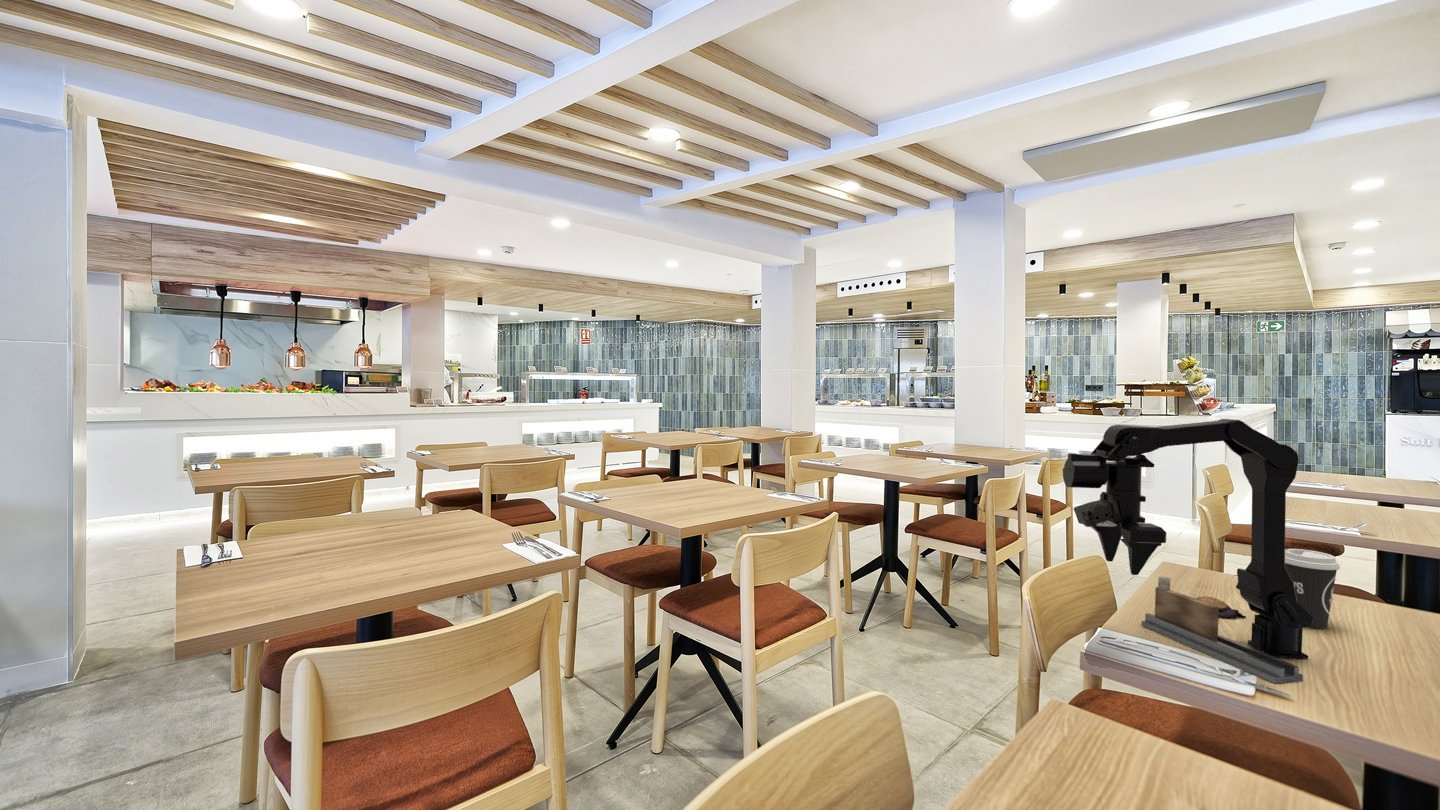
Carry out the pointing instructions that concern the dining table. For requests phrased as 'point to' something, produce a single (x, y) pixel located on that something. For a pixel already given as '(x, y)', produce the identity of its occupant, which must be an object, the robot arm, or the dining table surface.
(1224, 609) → the bread roll
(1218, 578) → the dining table surface
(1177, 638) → the track
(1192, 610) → the screen
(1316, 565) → the coffee cup
